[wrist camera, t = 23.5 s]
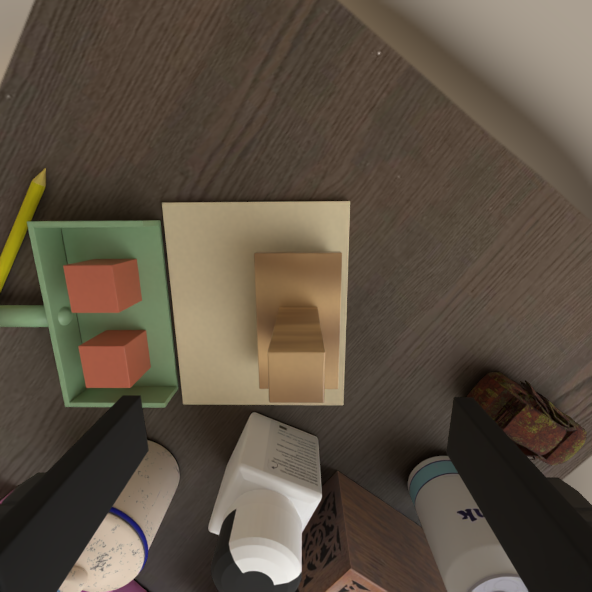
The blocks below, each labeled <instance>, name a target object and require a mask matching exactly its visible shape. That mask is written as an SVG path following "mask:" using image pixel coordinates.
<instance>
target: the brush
mask: <svg viewBox="0 0 592 592" xmlns="http://www.w3.org/2000/svg"><path fill="white" fill-rule="evenodd" d="M254 267H255V292H256V318H257V343H258V369H259V389H269V402H270V403H324V395H325V389H338V386H339V350H340V315H341V280H342V253H341V252H340V251H302V252H255V253H254Z"/></svg>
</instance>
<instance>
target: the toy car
mask: <svg viewBox="0 0 592 592" xmlns="http://www.w3.org/2000/svg"><path fill="white" fill-rule="evenodd" d="M520 382H521V381H520ZM525 382H526V384H525V383H523V382H521V384H522V385H523V386H524V388H525V389H524V388H523V387H521V385H519V384H518V383H516V382H514V381H512V380H510V379H509V378H508V377H506V376H505V375H503V374H502V373H500V372H499V371H498V373H497V372H491V373H488V374H487V375H486V376H484V377H483V378H482V379H481V380H480V381H479V382H478V384H477V385H476V386H475V387H474V388H473V389H472V390H471V392H470V393H469V394H468V396H467V397H473V398H474V399H475V401H476V402H477V403H478V404H479V405H480V406H481V407H482V408H483V409H484V410H485V411H486V413H487V414H488V415H489V416H490V417H491V418H492V419H493V420H494V421H495V422H496V423H497V425H498V426H499V427H500V428H501V429H502V430H503V431H504V432H505V433H506V434H507V435H508V437H509V438H510V439H511V440H512V441H513V442H514V443H515V444H516V445H517V446H518V448H519V449H520V450H521V451H522V452H523V453H524V454H525V455H526V456H530V457H533V458H534V459H529V460H535V457H536V458H537V459H539V460H541V461H543V462H545V463H547V464H549V465H551V466H552V465H557V464H561V463H563V462H565V461H567V460H568V459H570V458H571V457H572V456H573V455H574V454H575V453H576V452H578V451H579V450H580V448H581V447H582V446H583V444H584V443H585V440H586V435H587V433H586V431H585V429H584V428H582V427H581V426H580V425H579V424H578V423H576V422H575V421H573V419H572V418H570V417H569V416H567V415H566V414H564V413H562V412H561V411H560V410H559V409H557V408H556V407H555V406H554V405H553V404H552V403H551V402H550V401H549V400H547V399H546V398H545V397H543V396H542V395H540V394H539V393H537V392H536V391H535V390H534V389H533V387H532V386H531V385H530V383H528V382H527V381H526V380H525ZM544 401H545V402H546V403H545V402H544Z"/></svg>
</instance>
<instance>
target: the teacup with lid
mask: <svg viewBox="0 0 592 592" xmlns="http://www.w3.org/2000/svg"><path fill="white" fill-rule="evenodd" d="M147 442H148V448H149V451H148V452H147V454H146V455H145V457H144V458H143V460H142V462H141V463H140V465H139V466H138V468H137V469H136V471H135V472H134V474H133V475H132V477H131V478H130V480H129V482H128V483H127V485H126V486H125V488H124V489H123V491H122V492H121V494H120V495H119V497H118V499H117V500H116V502H115V503H114V505H113V506H112V508H111V509H110V511H109V512H108V514H107V515H106V517H105V519H104V520H103V522H102V523H101V525H100V526H99V528H98V529H97V531H96V532H95V534H94V535H93V537H92V539H91V540H90V542H89V543H88V545H87V546H86V548H85V549H84V551H83V552H82V554H81V556H80V557H79V559H78V560H77V562H76V563H75V565H74V566H73V568H72V569H71V571H70V572H69V574H68V576H67V577H66V579H65V580H64V582H63V583H62V585H61V586H60V588H59V590H60V592H81V591H82V590H83V591H88V592H107V591H112V590H116V589H119V588H121V587H123V586H125V585H126V584H128V583H129V582H131V581H132V580H133V579H134V578H135V577H136V576H137V575H138V573H139V572H140V571H141V570H142V568H143V567H144V565H145V563H146V560H147V557H148V550H149V548H150V546H151V543H152V541H153V539H154V537H155V535H156V533H157V530H158V528H159V526H160V524H161V522H162V520H163V517H164V515H165V513H166V511H167V509H168V506H169V504H170V502H171V500H172V498H173V496H174V493H175V491H176V489H177V487H178V484H179V480H180V472H179V467H178V464H177V462H176V460H175V459H174V457H173V456H172V454H171V453H170V452H169V451H168V450H167V449H165V448H164V447H162V446H161V445H159V444H157V443H155V442H152V441H149V440H147Z"/></svg>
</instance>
